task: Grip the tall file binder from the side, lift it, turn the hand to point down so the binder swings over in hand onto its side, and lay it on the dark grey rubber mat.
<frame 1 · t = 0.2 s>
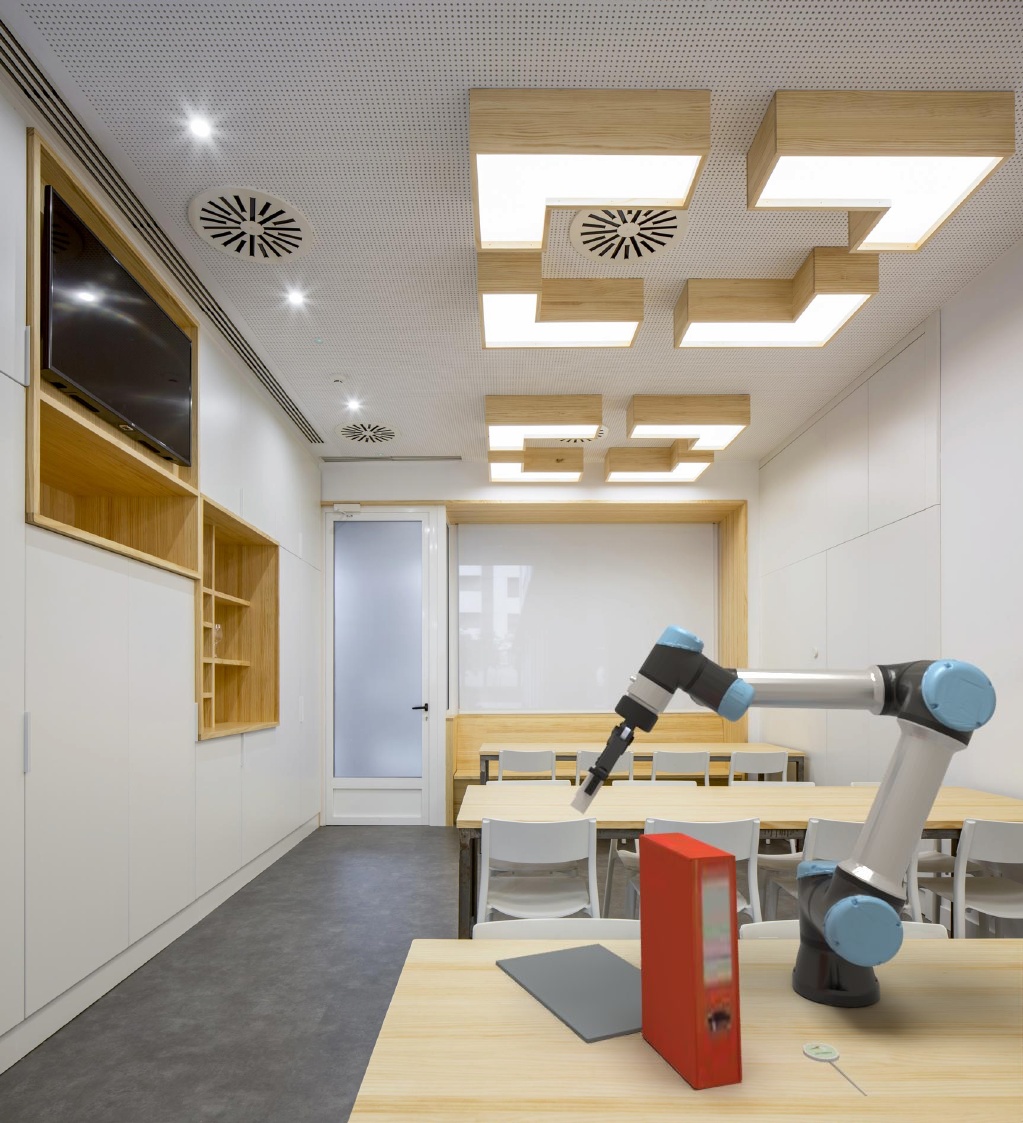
hand: (578, 804, 146), 36 cm above the table, tool tilted 35°, fingers open, 13 cm apart
sign: (837, 1073, 122), on the table
file binder: (690, 1059, 125), on the table
mat: (593, 987, 153), on the table
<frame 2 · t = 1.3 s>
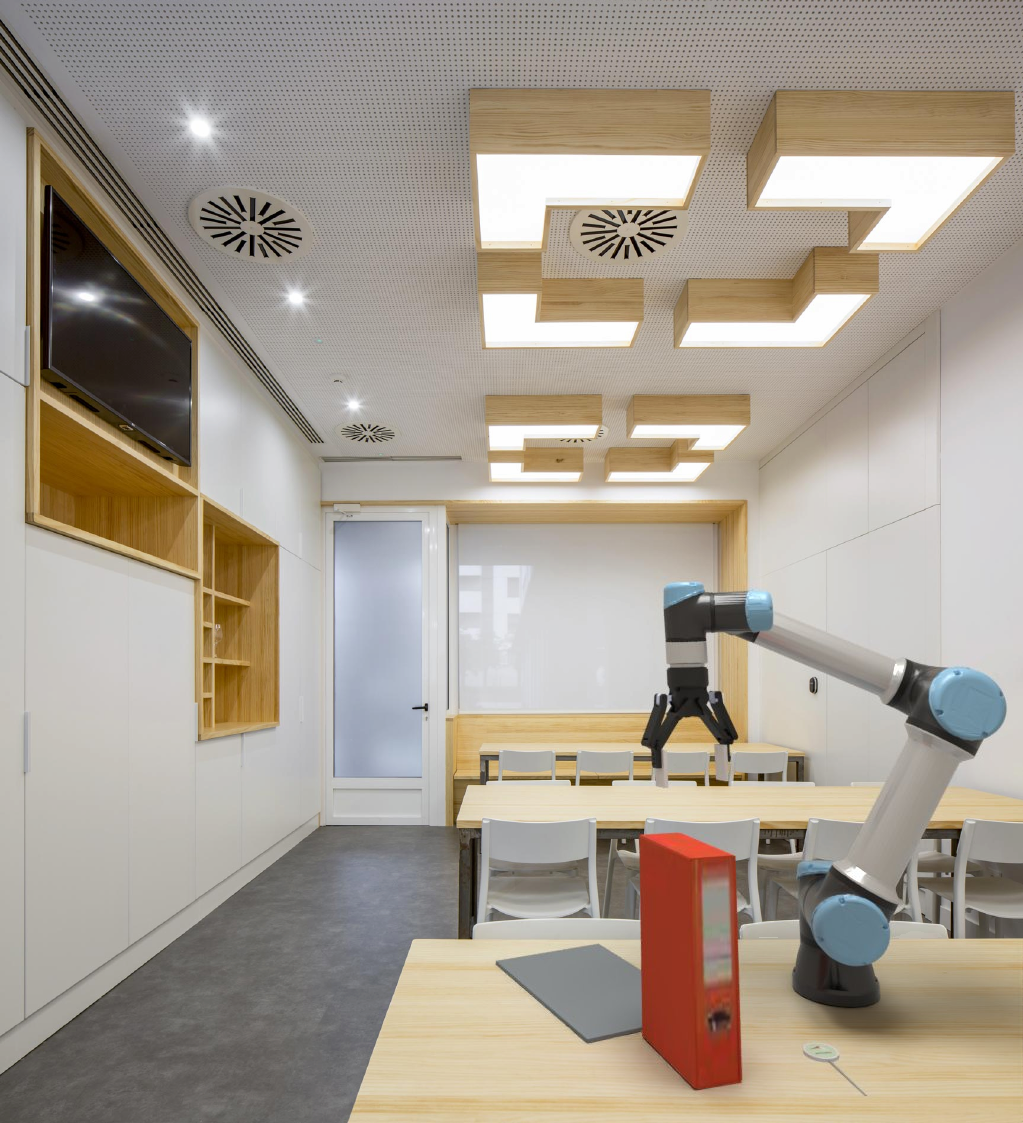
hand: (692, 783, 148), 39 cm above the table, tool pointing down, fingers open, 13 cm apart
nothing on the table moved.
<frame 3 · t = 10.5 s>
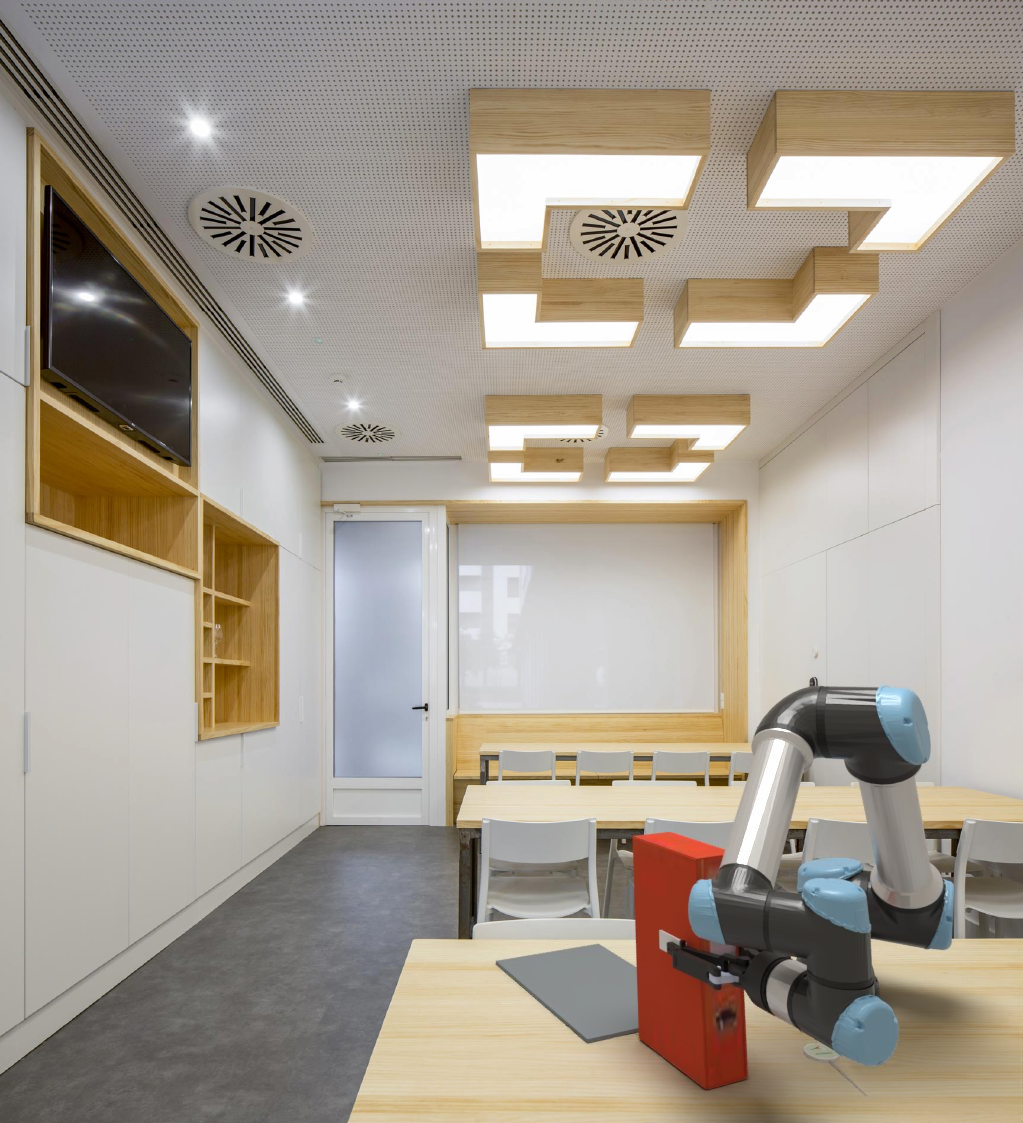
hand: (682, 935, 128), 18 cm above the table, tool horizontal, fingers open, 7 cm apart
file binder: (691, 1059, 125), on the table, touching gripper
everything else where it was.
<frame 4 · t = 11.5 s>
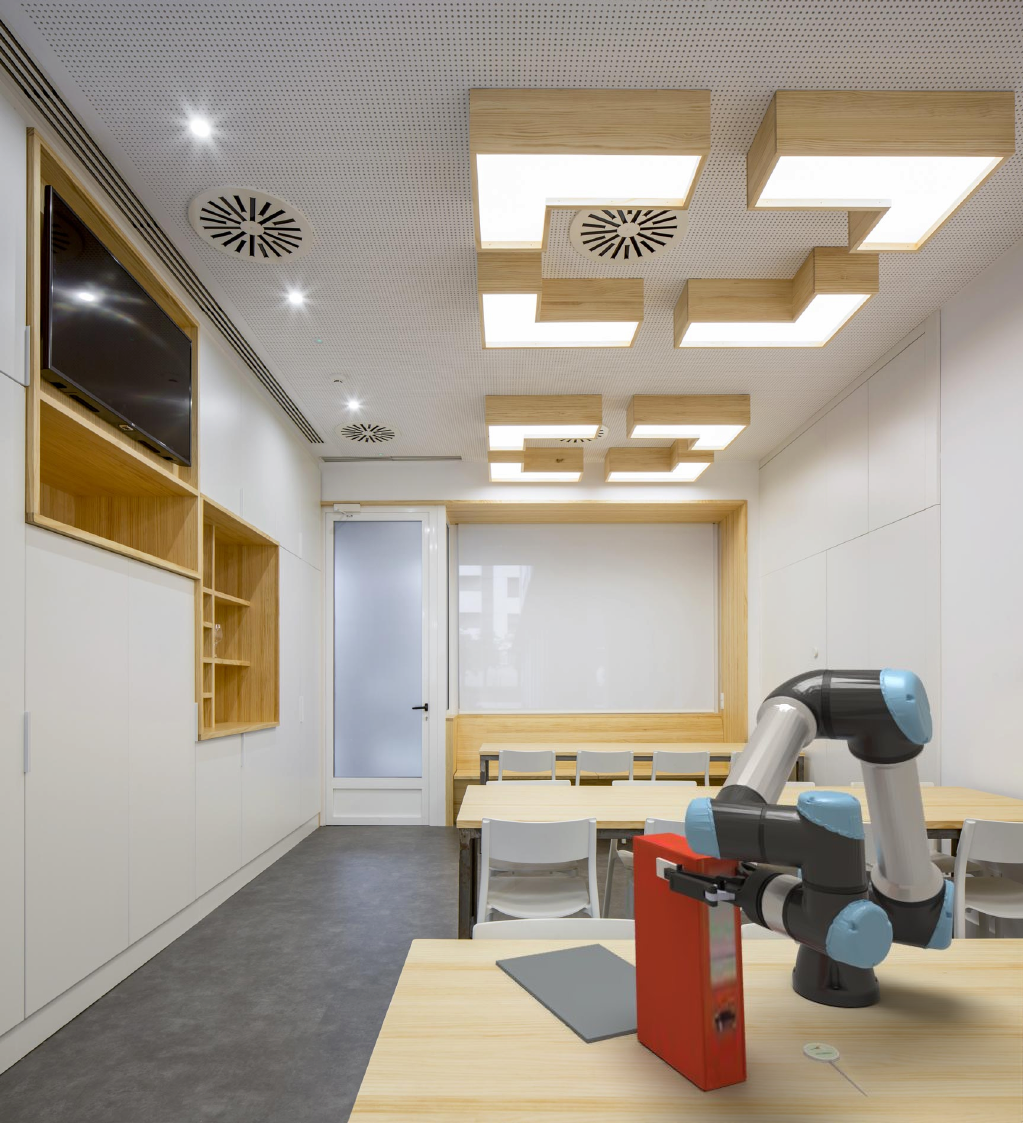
hand: (679, 863, 129), 29 cm above the table, tool horizontal, fingers closed on file binder, 7 cm apart
file binder: (690, 1060, 125), on the table, touching gripper
everything else where it was.
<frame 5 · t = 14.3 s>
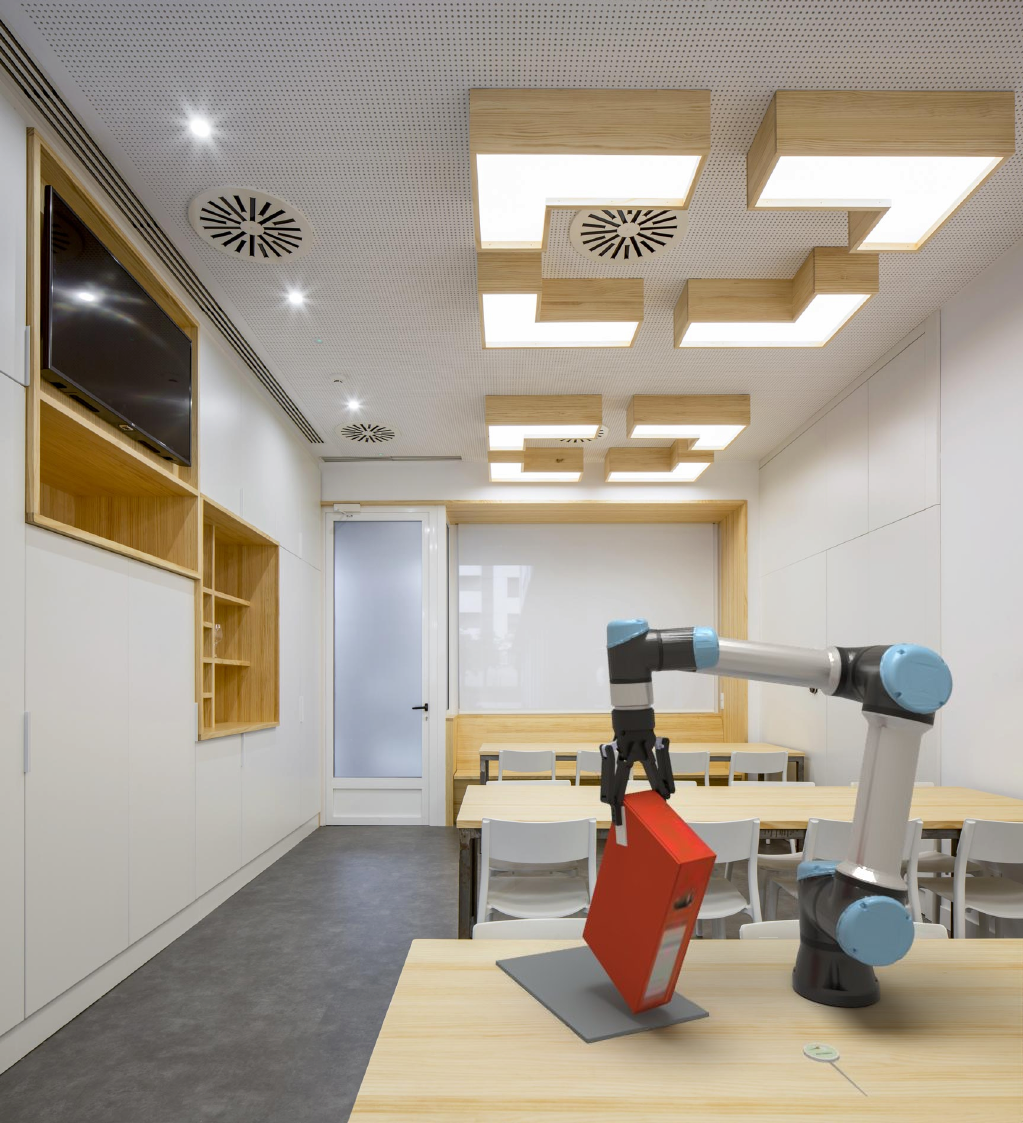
hand: (641, 840, 141), 30 cm above the table, tool pointing down, fingers closed on file binder, 7 cm apart
file binder: (623, 970, 146), point 6 cm above the table, touching gripper
everything else where it was.
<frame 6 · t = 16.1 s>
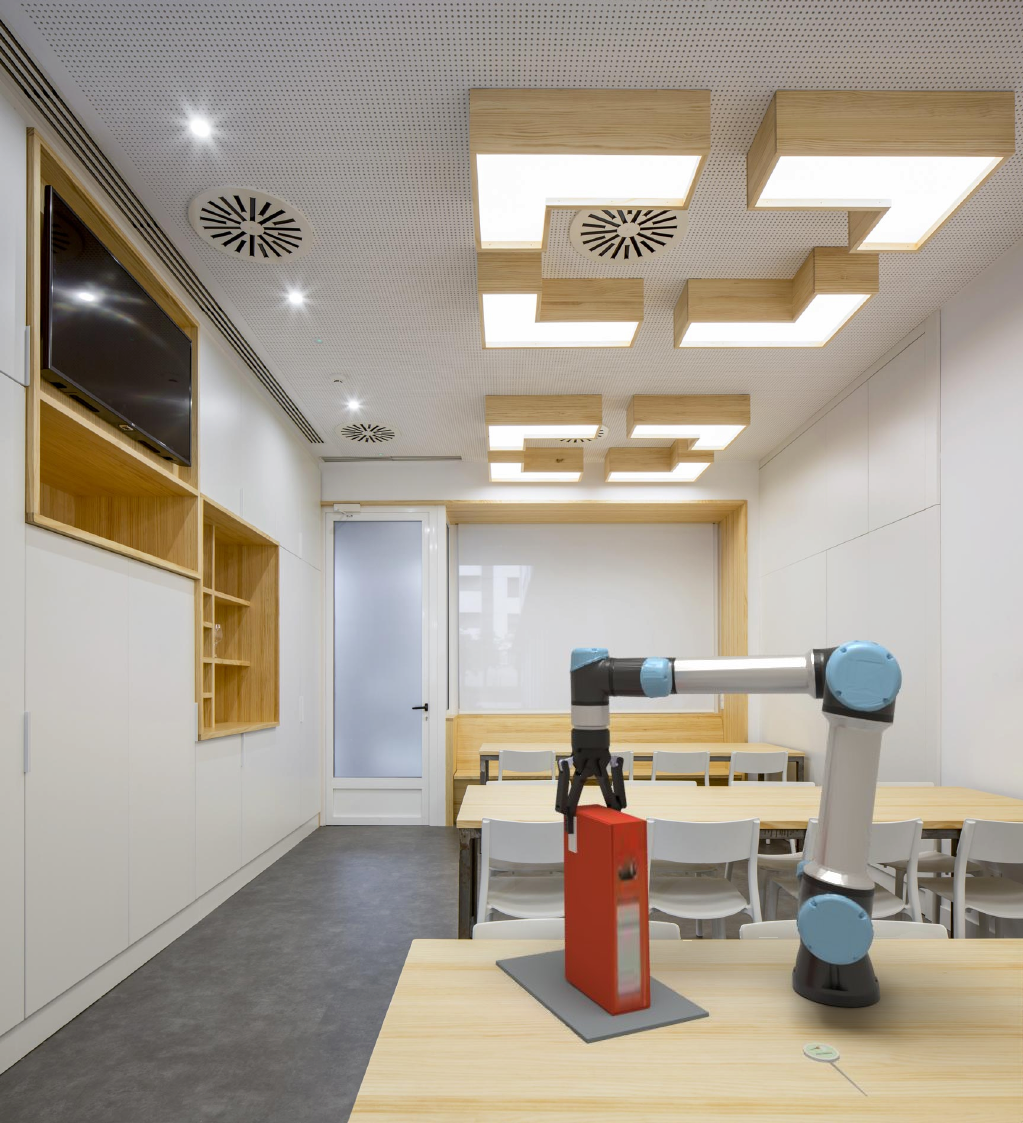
hand: (591, 849, 155), 25 cm above the table, tool pointing down, fingers closed on file binder, 7 cm apart
file binder: (605, 994, 148), point 1 cm above the table, touching gripper
everything else where it was.
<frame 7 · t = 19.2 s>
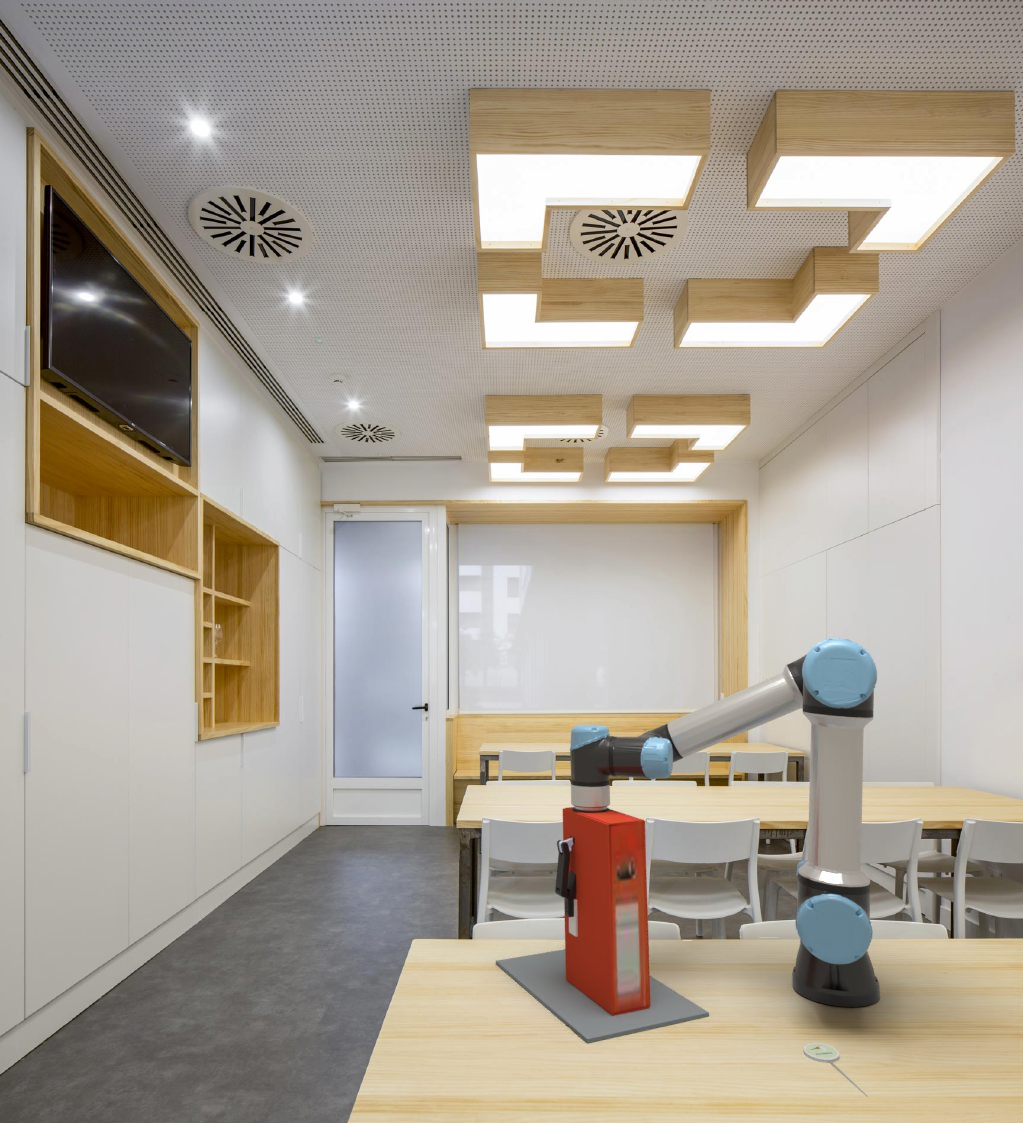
hand: (592, 931, 154), 10 cm above the table, tool pointing down, fingers closed on file binder, 7 cm apart
file binder: (605, 995, 148), resting on mat, touching gripper
everything else where it was.
when the fingers open (10 cm above the table, at t = 19.5 s): file binder moves 6 cm, resting on mat.
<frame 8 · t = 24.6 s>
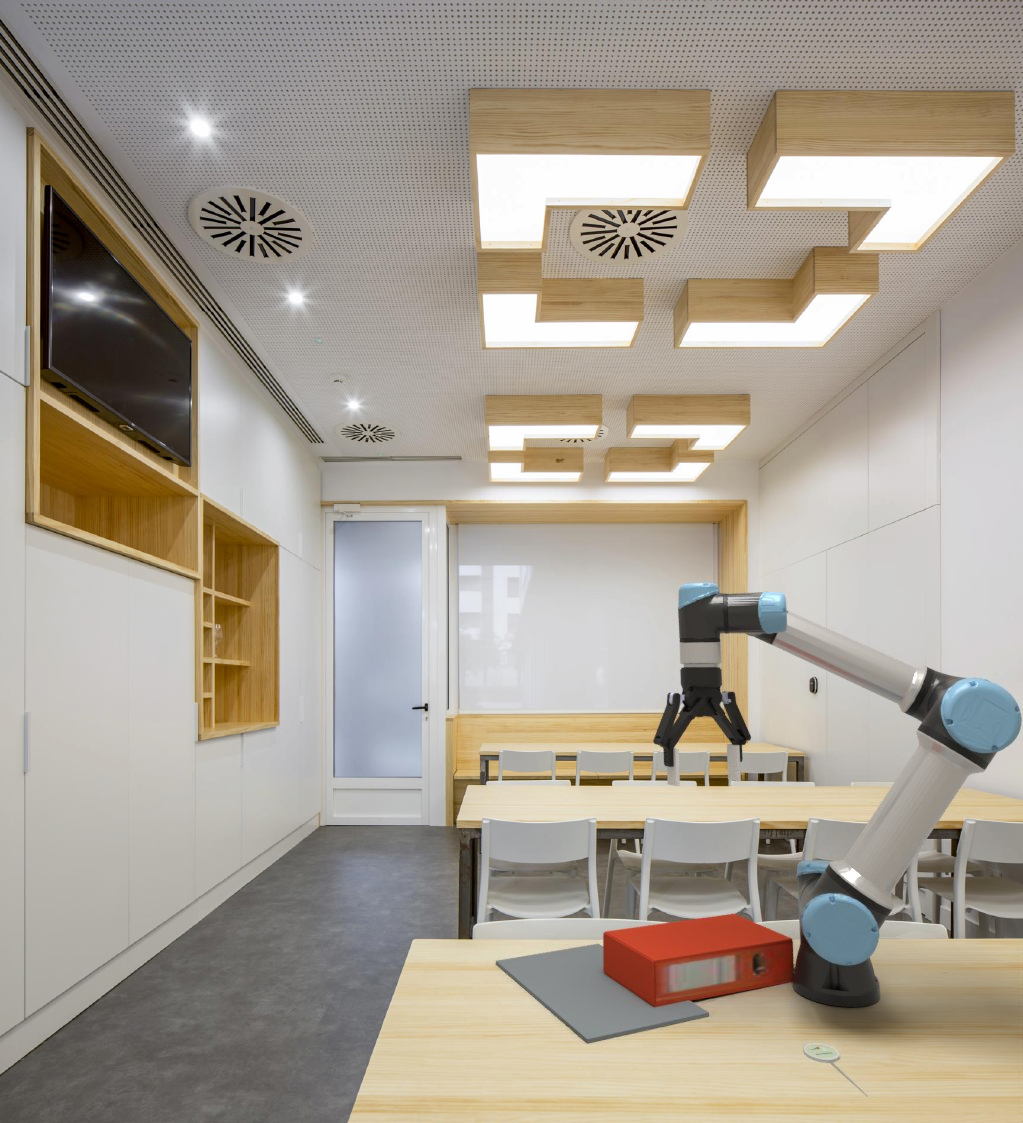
hand: (704, 782, 149), 39 cm above the table, tool pointing down, fingers open, 13 cm apart
file binder: (625, 966, 151), point 5 cm above the table, touching mat
everything else where it was.
at the end: file binder tilted 92°; file binder touching mat, table; file binder inside the target area (5.6 cm from its centre), point 4.6 cm above the table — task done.
